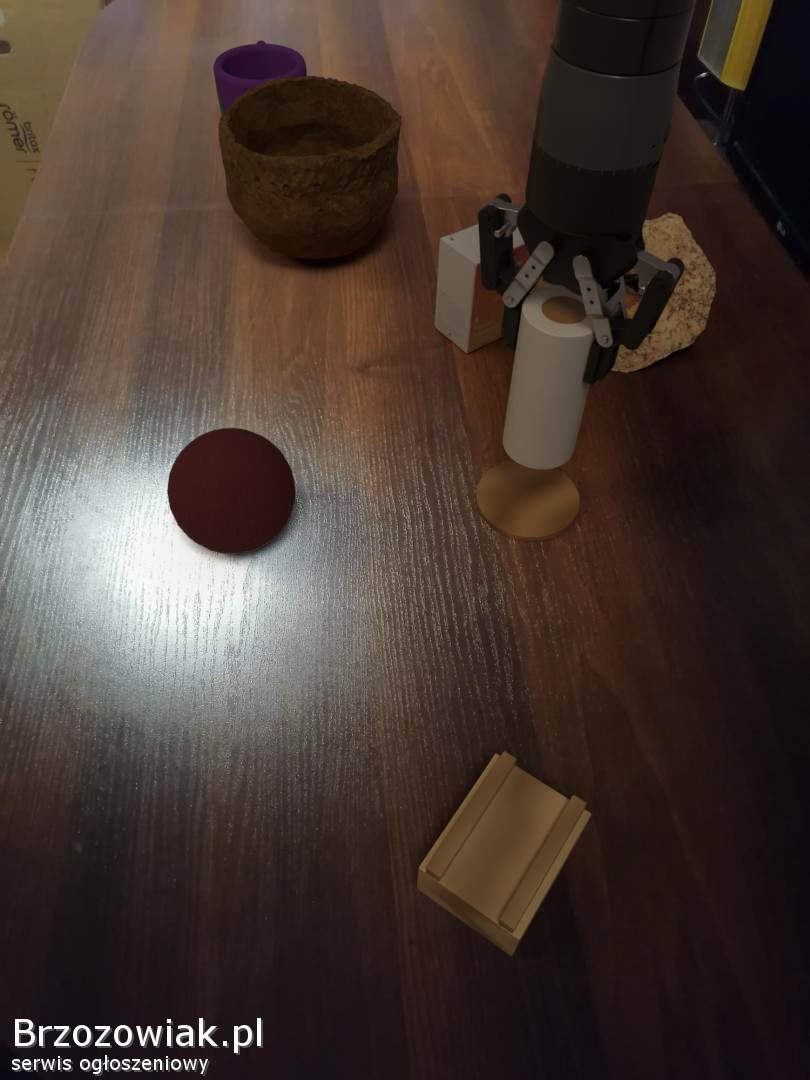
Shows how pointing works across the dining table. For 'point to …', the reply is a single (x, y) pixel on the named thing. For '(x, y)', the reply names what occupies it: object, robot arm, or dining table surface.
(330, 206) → the bowl
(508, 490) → the coaster
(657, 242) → the beige speckled lump
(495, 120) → the dining table surface
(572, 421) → the paper towel roll
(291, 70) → the mug
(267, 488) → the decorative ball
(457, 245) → the small box
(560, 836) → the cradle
